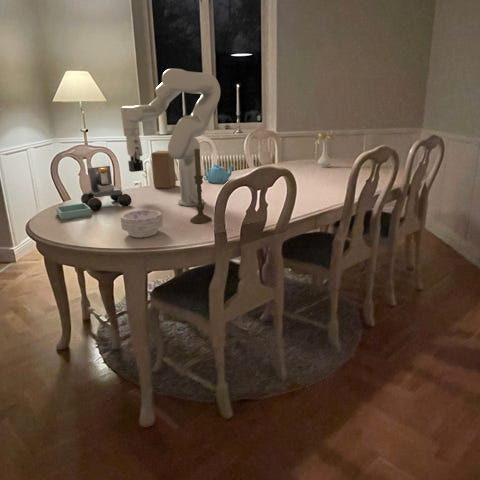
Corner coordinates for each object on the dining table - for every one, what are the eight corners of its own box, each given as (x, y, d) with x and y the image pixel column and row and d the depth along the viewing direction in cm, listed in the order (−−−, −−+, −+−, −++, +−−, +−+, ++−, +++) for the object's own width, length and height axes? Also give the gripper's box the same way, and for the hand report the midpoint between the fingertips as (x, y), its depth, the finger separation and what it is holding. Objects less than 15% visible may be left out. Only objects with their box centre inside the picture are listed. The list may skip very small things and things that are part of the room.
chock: (143, 170, 213) (142, 160, 211) (131, 171, 210) (130, 161, 209) (141, 169, 216) (139, 159, 215) (129, 171, 214) (128, 160, 212)
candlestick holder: (203, 225, 171) (199, 149, 162) (185, 222, 176) (180, 148, 166) (216, 219, 179) (213, 146, 169) (198, 216, 183) (194, 145, 174)
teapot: (200, 183, 253) (199, 165, 250) (215, 178, 265) (214, 162, 262) (221, 185, 246) (220, 167, 243) (235, 180, 258) (234, 163, 254)
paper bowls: (150, 225, 172) (148, 206, 170) (171, 233, 162) (169, 213, 159) (115, 234, 163) (112, 214, 160) (135, 243, 152) (133, 222, 149)
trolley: (132, 205, 205) (128, 168, 199) (89, 212, 195) (83, 173, 189) (122, 199, 217) (118, 164, 212) (81, 205, 208) (76, 168, 202)
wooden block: (170, 188, 240) (167, 152, 233) (153, 188, 242) (150, 152, 235) (176, 185, 249) (173, 150, 243) (160, 185, 251) (157, 150, 245)
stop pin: (111, 190, 202) (108, 168, 198) (102, 191, 200) (99, 169, 196) (108, 188, 205) (106, 167, 201) (100, 189, 203) (97, 168, 200)
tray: (91, 216, 189) (90, 208, 188) (62, 220, 183) (60, 212, 182) (85, 210, 199) (84, 203, 198) (57, 214, 193) (55, 207, 192)
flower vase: (308, 168, 293) (309, 130, 285) (323, 164, 306) (325, 128, 297) (324, 170, 284) (326, 131, 276) (339, 166, 297) (341, 129, 289)
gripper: (144, 132, 202) (149, 171, 208) (134, 131, 216) (138, 167, 222) (129, 134, 199) (133, 173, 205) (119, 132, 213) (124, 169, 218)
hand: (136, 170), depth 213 cm, fingers closed on chock, 4 cm apart
